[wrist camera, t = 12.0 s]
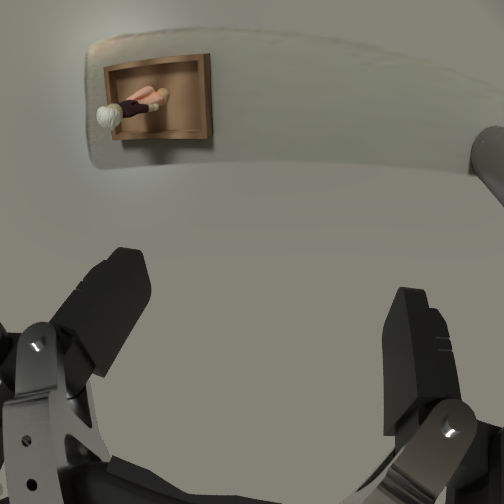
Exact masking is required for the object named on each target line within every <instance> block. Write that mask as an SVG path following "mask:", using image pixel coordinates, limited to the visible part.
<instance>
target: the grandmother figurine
mask: <svg viewBox="0 0 504 504" xmlns="http://www.w3.org/2000/svg"><path fill="white" fill-rule="evenodd" d="M168 97H169V91H168V90H167V89H165V88H160V89H159V90H158V91H157V92H155V90H154V88H153V87H150V86H146V87H144V88H142V89H141V90H139V91H137V92H136V93H135V94H133V95H132V96H130V97H129V98H127V99H126V100H125V101H123V102H120V103H117V104H109V105H108V106H106V107H104V106H103V107H100V108H99V109H98V111H97V120H98V122H99V124H100V125H101V126H102V127H104V128H105V129H106V130H110V131H112V130H114V129H115V127H116V126H118V125H119V123H120V122H121V121H122V118H131V117H133V116H135V115H137V114H141V113H148V112H152V111H157V110H158V109H159V106H164V105H166V103H167V100H168Z"/></svg>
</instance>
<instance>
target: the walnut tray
mask: <svg viewBox="0 0 504 504" xmlns="http://www.w3.org/2000/svg"><path fill="white" fill-rule="evenodd" d="M103 68H104V78H105V88H106V96H107V105H109V104H117V103H120V102H123V101H125V100H126V99H127V98H129V97H130V96H132V95H133V94H135V93H136V92H137V91H139V90H141V89H142V88H144V87H146V86H150V87H153V88H154V90H155V92H157V91H158V90H159V89H160V88H165V89H167V90H168V91H169V97H168V100H167V103H166V105H164V106H159V109H158V110H157V111H152V112H148V113H141V114H137V115H135V116H133V117H131V118H122V121H121V122H120V123H119V125H118V126H116V127H115V129H114V130H112V131H111V133H112V140H126V139H208V138H209V137H210V136H211V135H212V134H213V124H212V100H211V72H210V53H209V54H194V55H182V56H172V57H163V58H155V59H148V60H141V61H134V62H128V63H123V64H117V65H112V66H107V67H103Z"/></svg>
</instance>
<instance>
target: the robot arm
mask: <svg viewBox="0 0 504 504" xmlns="http://www.w3.org/2000/svg"><path fill="white" fill-rule="evenodd" d="M471 162H472V167H473V169H474V171H475V173H476V175H477V176H478V177H479V179H480V180H481V181H482V182H483V183H484V184H485V185H486V186H487V188H488V189H489V190H490V191H491V192H492V194H493V195H494V196H495V197H496V198H497V199H498V201H499V202H500V203H501V204H502V205H503V207H504V128H503V127H498V126H494V127H489V128H487V129H485V130H484V131H483V132H481V133H480V134H479V136H478V137H477V138H476V140H475V142H474V144H473V147H472V152H471ZM150 296H151V283H150V280H149V276H148V273H147V268H146V264H145V261H144V256H143V253H142V252H141V251H140V250H136V249H130V248H123V247H119V248H117V249H116V250H115V251H114V252H113V253H112V254H111V255H110V257H109V258H108V259H107V260H104V261H102V262H101V263H99V264H98V265H96V266H95V267H93V268H92V269H91V270H90V271H89V272H88V274H87V275H86V276H85V277H84V279H83V281H81V282H80V283H79V284H78V286H77V287H76V290H74V291H73V292H72V293H71V295H70V296H69V297H68V298H67V299H66V301H65V302H64V303H63V304H62V306H61V307H60V308H59V310H58V311H57V312H56V314H55V315H54V316H53V318H52V319H51V320H50V321H49V322H48V323H47V322H38V323H35V324H32V325H31V326H29V327H28V328H27V329H25V331H24V332H23V333H7V332H6V330H5V328H4V327H3V326H2V324H1V323H0V380H1V381H2V383H1V384H0V469H1V467H2V465H3V462H4V461H5V472H6V480H7V488H8V495H9V497H6V498H4V499H1V500H0V504H281V503H274V502H269V501H263V500H257V499H252V498H247V497H241V496H237V495H235V496H234V495H233V496H232V495H231V496H229V495H226V496H225V495H220V496H219V495H195V494H188V493H185V492H183V491H181V490H180V489H178V488H176V487H175V486H173V485H171V484H170V483H168V482H167V481H165V480H163V479H162V478H160V477H159V476H157V475H156V474H154V473H153V472H151V471H150V470H148V469H145V468H142V467H140V466H137V465H135V464H132V463H130V462H127V461H125V460H122V459H120V458H118V457H115V456H112V458H110V455H109V452H108V449H107V447H106V445H105V443H104V441H103V440H102V438H101V436H100V433H99V430H98V425H97V420H96V414H95V409H94V403H93V397H92V390H91V385H90V381H89V380H88V379H89V378H90V376H91V374H92V373H93V374H96V375H98V376H101V377H103V378H104V377H105V376H106V374H107V372H108V370H109V369H110V367H111V365H112V363H113V362H114V360H115V358H116V356H117V355H118V353H119V351H120V349H121V348H122V346H123V344H124V342H125V341H126V339H127V337H128V336H129V334H130V332H131V331H132V329H133V327H134V325H135V324H136V322H137V320H138V319H139V317H140V316H141V314H142V312H143V311H144V309H145V307H146V306H147V304H148V302H149V300H150ZM449 337H450V336H449V332H448V328H447V324H446V321H445V320H444V318H443V317H442V315H441V314H440V312H439V311H438V310H437V309H435V308H429V305H428V301H427V297H426V293H425V291H424V290H423V289H414V288H406V287H400V288H399V289H398V291H397V293H396V296H395V299H394V301H393V303H392V306H391V308H390V311H389V313H388V316H387V318H386V320H385V323H384V327H383V333H382V350H383V376H384V436H395V446H394V447H393V448H392V450H391V451H390V452H389V453H388V455H387V456H386V457H385V458H384V459H383V460H382V461H381V463H380V464H379V465H378V466H377V467H376V468H375V469H374V471H373V472H372V473H371V474H370V475H369V476H368V477H367V478H366V479H365V480H364V481H363V482H362V483H361V484H360V485H359V487H358V488H357V489H356V490H355V491H354V492H353V493H352V494H350V495H349V496H348V497H347V498H346V499H345V500H343V501H342V502H341V503H340V504H434V503H435V501H436V499H437V498H438V496H439V495H440V493H441V492H442V490H443V489H444V487H445V486H447V490H446V502H445V504H504V427H503V428H501V427H497V426H494V425H491V424H487V423H485V422H482V421H479V420H477V419H476V416H475V414H474V412H473V410H472V409H471V408H470V406H469V405H467V404H466V403H464V402H463V401H462V399H461V394H460V388H459V381H458V375H457V370H456V365H455V360H454V355H453V352H452V345H451V341H450V340H449ZM2 493H3V487H2V485H1V484H0V496H1V495H2Z"/></svg>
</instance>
